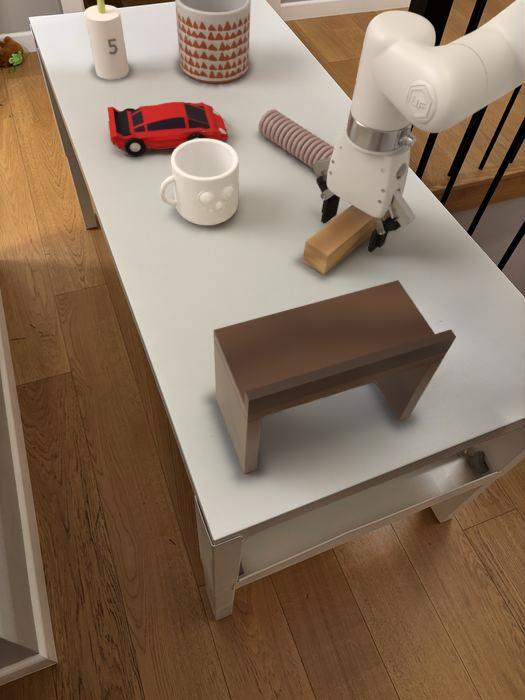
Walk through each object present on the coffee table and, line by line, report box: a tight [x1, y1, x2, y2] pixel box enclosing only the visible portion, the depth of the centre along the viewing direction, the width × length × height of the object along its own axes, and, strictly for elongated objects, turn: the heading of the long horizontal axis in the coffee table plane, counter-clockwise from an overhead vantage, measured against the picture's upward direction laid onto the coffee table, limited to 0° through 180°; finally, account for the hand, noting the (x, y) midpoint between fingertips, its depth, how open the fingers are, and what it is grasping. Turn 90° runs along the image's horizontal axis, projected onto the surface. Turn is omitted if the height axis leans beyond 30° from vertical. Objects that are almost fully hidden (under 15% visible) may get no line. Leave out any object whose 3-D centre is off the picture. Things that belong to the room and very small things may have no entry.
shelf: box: [213, 279, 457, 475], centre depth 58 cm, size 10×21×16 cm, turn 111°
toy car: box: [107, 101, 229, 157], centre depth 92 cm, size 10×20×5 cm, turn 107°
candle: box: [83, 0, 130, 81], centre depth 99 cm, size 6×6×15 cm
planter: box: [174, 0, 252, 84], centre depth 103 cm, size 14×14×13 cm
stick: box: [302, 204, 396, 276], centre depth 80 cm, size 4×18×4 cm, turn 138°
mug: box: [159, 138, 240, 226], centre depth 80 cm, size 12×10×9 cm
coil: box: [257, 108, 335, 173], centre depth 91 cm, size 5×5×18 cm
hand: (351, 232), depth 81 cm, fingers open, 8 cm apart
